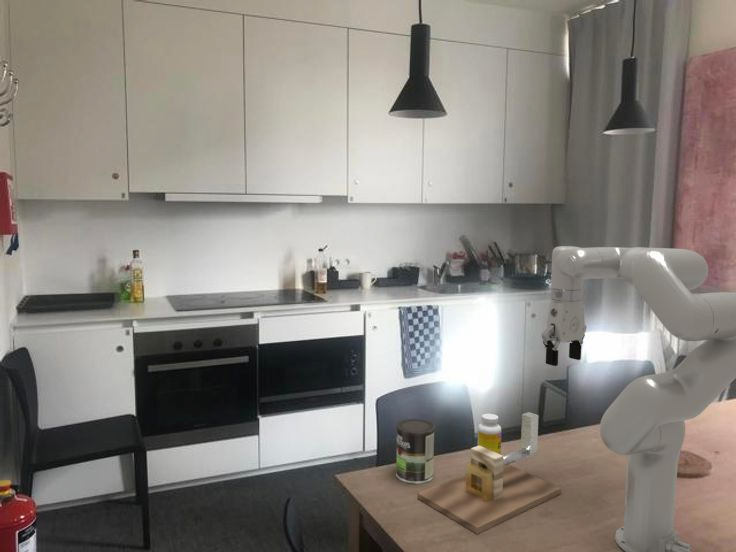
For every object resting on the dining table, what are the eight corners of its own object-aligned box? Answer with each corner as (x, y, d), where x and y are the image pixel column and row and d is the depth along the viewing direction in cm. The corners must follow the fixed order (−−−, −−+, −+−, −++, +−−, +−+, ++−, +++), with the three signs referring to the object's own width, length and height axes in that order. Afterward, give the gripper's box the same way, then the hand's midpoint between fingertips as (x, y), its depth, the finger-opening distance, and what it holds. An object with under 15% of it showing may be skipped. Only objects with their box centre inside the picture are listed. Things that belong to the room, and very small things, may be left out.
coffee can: (408, 487, 153) (409, 435, 151) (389, 471, 162) (389, 422, 160) (441, 479, 158) (442, 428, 156) (420, 464, 167) (421, 416, 165)
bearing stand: (561, 493, 150) (563, 448, 148) (477, 534, 131) (478, 482, 130) (499, 466, 166) (501, 425, 164) (417, 498, 147) (418, 452, 146)
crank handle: (527, 452, 159) (529, 412, 157) (536, 455, 156) (538, 415, 155) (482, 469, 148) (483, 427, 147) (491, 474, 146) (492, 430, 144)
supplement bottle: (500, 465, 166) (502, 421, 165) (476, 463, 168) (478, 419, 166) (500, 455, 173) (501, 413, 171) (477, 453, 174) (478, 411, 173)
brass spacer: (492, 499, 144) (493, 472, 143) (486, 502, 142) (487, 474, 142) (471, 488, 149) (471, 462, 148) (465, 490, 148) (466, 464, 147)
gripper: (558, 300, 140) (555, 370, 142) (599, 294, 150) (596, 359, 152) (532, 296, 146) (529, 364, 148) (573, 290, 156) (570, 353, 158)
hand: (563, 361), depth 150 cm, fingers open, 9 cm apart
